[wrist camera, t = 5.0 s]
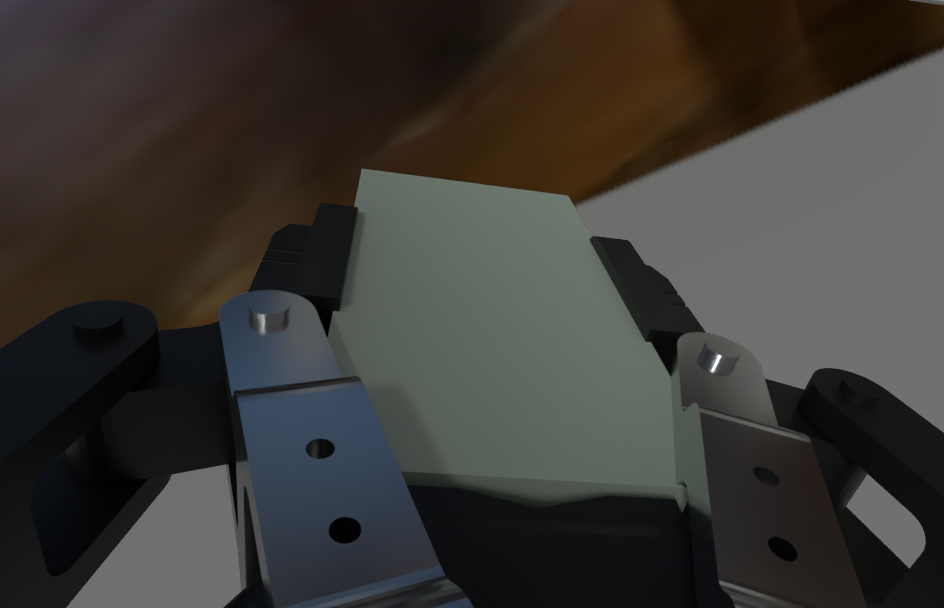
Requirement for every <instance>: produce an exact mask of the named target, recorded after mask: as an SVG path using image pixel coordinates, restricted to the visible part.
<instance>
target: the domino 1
mask: <svg viewBox="0 0 944 608" xmlns="http://www.w3.org/2000/svg"><path fill="white" fill-rule="evenodd" d="M354 207H358V215H357V220H356V225H355V231H354V236H353V242H352V247H351V252H350V258H349V263H348V269H347V274H346V279H345V285H344V290H343V296H342V301H341V306H340V312H338V311H333V314H332V319H331V324H330V329H329V334H328V341H329V344H330V347H331V349H332V352H333V354H334V357H335V359H336V362H337V364H338V367H339V370H340V372H341V375H342V377H347V376H355V375H356V376H358V377H359V378H360V379H361V381H362V383H363V385H364V387H365V389H366V391H367V394H368V396H369V399H370V401H371V403H372V406H373V408H374V410H375V413H376V415H377V417H378V420H379V422H380V424H381V427H382V429H383V431H384V434H385V436H386V438H387V441H388V443H389V445H390V448H391V450H392V453H393V455H394V457H395V460H396V462H397V464H398V467H399V469H400V471H401V474H402V476H403V478H404V481H405V483H406V485H419V486H437V487H455V488H462V489H466V490H470V491H474V492H477V493H481V494H485V495H489V496H493V497H497V498H501V499H504V500H508V501H512V502H516V503H520V504H524V505H528V506H532V507H548V506H553V505H559V504H565V503H570V502H576V501H582V500H587V499H593V498H598V497H604V496H620V497H638V498H656V499H674V500H676V501H677V503H678V506H679V508H680V510H681V512H683V510H684V508H685V506H686V504H687V502H688V490H687V488H685V487H682V486H678V485H676V472H675V452H674V432H673V413H672V393H671V377H670V375H669V373H668V371H667V370H666V368H665V366H664V364H663V363H662V361H661V359H660V357H659V355H658V354H657V352H656V350H655V348H654V347H653V345H652V343H651V342H645V340H644V338H643V336H642V335H641V333H640V331H639V329H638V327H637V325H636V324H635V322H634V320H633V318H632V316H631V315H630V313H629V311H628V309H627V307H626V306H625V304H624V302H623V300H622V298H621V297H620V295H619V293H618V291H617V289H616V287H615V286H614V284H613V282H612V280H611V278H610V277H609V275H608V273H607V271H606V269H605V268H604V266H603V264H602V262H601V260H600V259H599V257H598V255H597V253H596V251H595V249H594V248H593V246H592V244H591V242H590V240H589V239H590V238H591V236H590V234H589V232H588V230H587V228H586V227H585V225H584V223H583V221H582V220H581V218H580V216H579V214H578V213H577V211H576V209H575V207H574V206H573V204H572V202H571V200H570V199H569V197H568V196H567V195H559V194H551V193H544V192H536V191H528V190H521V189H513V188H506V187H498V186H490V185H483V184H475V183H467V182H460V181H452V180H445V179H437V178H429V177H422V176H414V175H406V174H399V173H391V172H384V171H376V170H368V169H362V171H361V176H360V181H359V185H358V190H357V195H356V200H355V205H354Z"/></svg>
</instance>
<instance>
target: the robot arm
mask: <svg viewBox="0 0 944 608" xmlns="http://www.w3.org/2000/svg"><path fill="white" fill-rule="evenodd" d="M357 215H358V207H352V206H344V205H335V204H327V203H320V205H319V208H318V211H317V214H316V217H315V220H314V223H313V226H304V225H296V224H289V225H287V226H286V227H284V228H283V229H281V230H279V231H278V232H276V233H275V234H273V237H272V239H271V241H270V243H269V246H268V250H266V253H265V255H264V257H263V262H261V264H260V266H259V268H258V271H257V273H256V275H255V277H254V280H253V282H252V284H251V287H250V289H249V291H248V292H247V293H243V294H240V295H238V296H235V297H233V298H231V299H230V300H228V301H227V302H226V303H225V304H223V306H222V307H221V308H220V311H219V321H218V322H215V323H212V324H209V325H204V326H200V327H192V328H183V329H172V330H161V331H158V327H157V320H156V317H155V315H154V314H153V313H152V312H151V311H150V310H148V309H147V308H145V307H143V306H141V305H138V304H135V303H131V302H125V301H116V300H103V301H93V302H86V303H82V304H77V305H74V306H71V307H68V308H65V309H63V310H60V311H58V312H56V313H55V314H53V315H51V316H50V317H48V318H46V319H45V320H43V321H42V322H40V323H39V324H37V325H36V326H34V327H33V328H31V329H30V330H28V331H27V332H25V333H24V334H22V335H20V336H19V337H17V338H16V339H14V340H13V341H11V342H10V343H8V344H7V345H5V346H4V347H2V348H1V349H0V608H66V607H67V606H68V605H69V603H70V602H71V600H73V598H74V597H75V596H76V595H77V594H78V592H79V591H80V590H81V589H82V587H83V586H84V585H85V584H86V583H87V581H88V580H89V579H90V578H91V576H92V575H93V574H94V573H95V571H96V570H97V569H98V568H99V567H100V565H101V564H102V563H103V562H104V561H105V559H106V558H107V557H108V556H109V555H110V553H111V552H112V550H114V548H115V547H116V546H117V545H118V544H119V542H120V541H121V540H122V539H123V537H124V536H125V535H126V534H127V533H128V531H129V530H130V529H131V528H132V526H133V525H134V524H135V523H136V522H137V520H138V519H139V518H140V517H141V515H142V514H143V513H144V512H145V511H146V509H147V508H148V507H149V506H150V505H151V503H152V502H153V501H154V500H155V498H156V497H157V496H158V495H159V494H160V492H161V491H162V490H163V489H164V487H165V486H166V485H167V483H168V482H169V480H170V477H171V475H172V474H176V473H181V472H187V471H192V470H197V469H203V468H209V467H213V466H220V465H225V464H226V468H227V475H228V482H229V490H230V497H231V504H232V512H233V519H234V527H235V534H236V540H237V549H238V558H239V568H240V582H241V592H240V593H239V594H238V595H237V596H236V597H235V598H234V599H233V600H231V601H230V602H229V603H228V604H227V605H226V606H225V607H224V608H944V433H943V432H942V431H940V430H939V429H938V428H936V427H935V426H934V425H932V424H931V423H930V422H928V421H927V420H926V419H924V418H923V417H922V416H920V415H919V414H918V413H916V412H915V411H914V410H912V409H911V408H910V407H908V406H907V405H906V404H904V403H903V402H902V401H900V400H899V399H898V398H896V397H895V396H894V395H892V394H891V393H890V392H888V391H887V390H886V389H884V388H883V387H881V386H880V385H878V384H876V383H875V382H873V381H871V380H869V379H867V378H864V377H862V376H860V375H857V374H855V373H851V372H848V371H845V370H840V369H833V368H824V369H819V370H817V371H815V372H814V373H813V375H812V377H811V379H810V381H809V382H808V384H807V386H806V388H805V390H803V389H800V388H796V387H792V386H789V385H786V384H782V383H778V382H775V381H772V380H768V379H765V377H764V374H763V370H762V367H761V365H760V363H759V361H758V360H757V358H756V357H755V356H754V355H753V354H752V353H750V352H749V351H748V350H747V349H745V348H744V347H742V346H741V345H739V344H737V343H735V342H733V341H731V340H729V339H726V338H724V337H721V336H718V335H714V334H709V333H706V332H705V331H704V329H703V328H702V326H701V325H700V324H699V322H698V321H697V319H696V318H695V317H694V315H693V314H692V312H691V311H690V310H689V308H688V307H685V303H684V301H683V300H682V298H681V297H680V296H679V295H677V291H676V290H675V289H674V287H673V286H672V284H671V283H670V281H669V280H668V279H667V278H665V277H664V276H663V275H662V274H660V273H659V272H658V271H656V270H655V269H654V268H652V267H651V266H647V265H645V264H644V262H643V261H642V259H641V258H640V256H639V255H638V253H637V252H636V250H635V249H634V247H633V246H632V244H631V243H630V242H629V241H628V240H621V239H612V238H605V237H597V236H593V237H591V238H590V239H589V240H590V242H591V244H592V246H593V248H594V249H595V251H596V253H597V255H598V257H599V259H600V260H601V262H602V264H603V266H604V268H605V269H606V271H607V273H608V275H609V277H610V278H611V280H612V282H613V284H614V286H615V287H616V289H617V291H618V293H619V295H620V297H621V298H622V300H623V302H624V304H625V306H626V307H627V309H628V311H629V313H630V315H631V316H632V318H633V320H634V322H635V324H636V325H637V327H638V329H639V331H640V333H641V335H642V336H643V338H644V340H645V342H651V343H652V345H653V347H654V348H655V350H656V352H657V354H658V355H659V357H660V359H661V361H662V363H663V364H664V366H665V368H666V370H667V371H668V373H669V375H670V377H671V393H672V413H673V432H674V452H675V472H676V485H678V486H682V487H685V488H687V490H688V502H687V504H686V506H685V508H684V510H683V512H681V510H680V508H679V506H678V503H677V501H676V500H674V499H656V498H638V497H620V496H604V497H598V498H593V499H587V500H582V501H576V502H570V503H565V504H559V505H553V506H548V507H532V506H528V505H524V504H520V503H516V502H512V501H508V500H504V499H501V498H497V497H493V496H489V495H485V494H481V493H477V492H474V491H470V490H466V489H462V488H455V487H437V486H419V485H406V483H405V481H404V478H403V476H402V474H401V471H400V469H399V467H398V464H397V462H396V460H395V457H394V455H393V453H392V450H391V448H390V445H389V443H388V441H387V438H386V436H385V434H384V431H383V429H382V427H381V424H380V422H379V420H378V417H377V415H376V413H375V410H374V408H373V406H372V403H371V401H370V399H369V396H368V394H367V391H366V389H365V387H364V385H363V383H362V381H361V379H360V378H359V377H358V376H356V375H355V376H347V377H342V375H341V372H340V370H339V367H338V364H337V362H336V359H335V357H334V354H333V352H332V349H331V347H330V344H329V341H328V334H329V329H330V324H331V319H332V314H333V311H338V312H340V306H341V301H342V296H343V290H344V285H345V279H346V274H347V269H348V263H349V258H350V252H351V247H352V242H353V236H354V231H355V225H356V220H357ZM54 460H55V461H54ZM53 461H54V462H53ZM867 474H869V475H870V476H871V477H872V478H873V479H874V480H875V481H876V482H877V483H879V484H880V485H881V486H882V487H883V488H884V489H885V490H886V491H888V492H889V493H890V494H891V495H892V496H893V497H894V498H895V499H896V500H898V501H899V502H900V503H901V504H902V505H903V506H904V507H905V508H907V509H908V510H909V511H910V512H911V513H912V514H913V515H914V516H915V517H916V518H917V519H918V521H919V522H920V524H921V526H922V527H923V530H924V533H925V537H926V545H925V549H924V551H923V552H922V554H921V555H920V557H919V558H918V559H917V560H916V561H915V563H914V564H913V565H912V566H911V568H910V569H909V568H908V567H907V566H906V565H905V564H904V563H903V562H902V561H901V560H900V559H899V558H898V557H897V556H896V555H895V554H894V553H893V552H892V551H891V550H890V549H889V548H888V547H887V546H886V545H885V544H883V542H882V541H881V540H880V539H879V538H877V537H876V536H875V535H874V534H873V533H872V532H871V531H870V530H869V529H868V528H867V527H866V526H865V525H864V524H863V523H862V522H861V521H860V520H859V519H858V518H857V517H856V516H855V515H854V514H853V513H852V512H851V511H850V510H849V509H848V508H847V507H846V505H847V504H848V502H849V501H850V499H851V498H852V496H853V495H854V493H855V492H856V490H857V489H858V487H859V486H860V484H861V483H862V481H863V480H864V478H865V477H866V475H867Z"/></svg>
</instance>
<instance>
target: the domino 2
mask: <svg viewBox="0 0 944 608" xmlns="http://www.w3.org/2000/svg"><path fill="white" fill-rule="evenodd" d="M911 1H918V2H925V3H932V4H939V5H944V0H911Z"/></svg>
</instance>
